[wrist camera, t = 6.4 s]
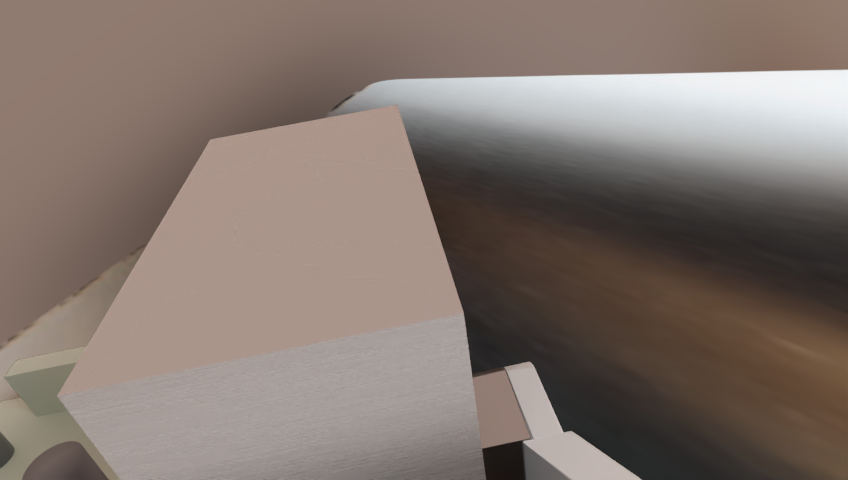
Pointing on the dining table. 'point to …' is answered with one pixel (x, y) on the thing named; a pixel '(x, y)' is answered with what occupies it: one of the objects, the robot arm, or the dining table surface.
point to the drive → (288, 321)
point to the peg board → (45, 425)
